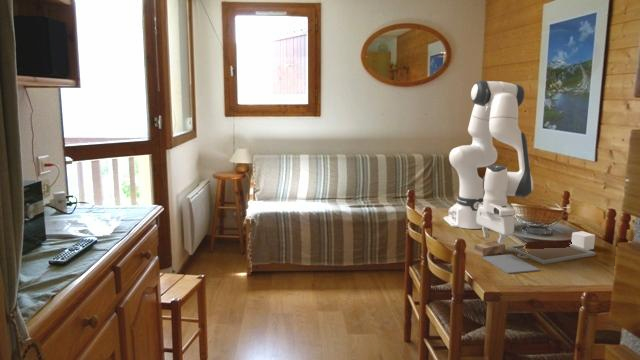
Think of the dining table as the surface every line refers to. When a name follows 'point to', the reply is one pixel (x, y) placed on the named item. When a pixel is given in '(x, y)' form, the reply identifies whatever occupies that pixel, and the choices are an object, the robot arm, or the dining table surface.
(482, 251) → the tan rectangular block
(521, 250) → the flat tray
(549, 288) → the dining table surface
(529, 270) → the rubber mat
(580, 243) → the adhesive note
